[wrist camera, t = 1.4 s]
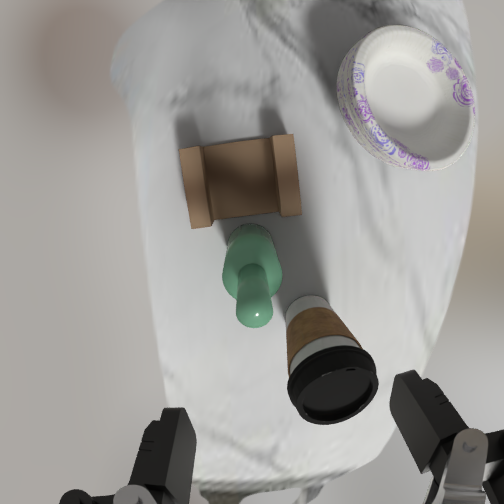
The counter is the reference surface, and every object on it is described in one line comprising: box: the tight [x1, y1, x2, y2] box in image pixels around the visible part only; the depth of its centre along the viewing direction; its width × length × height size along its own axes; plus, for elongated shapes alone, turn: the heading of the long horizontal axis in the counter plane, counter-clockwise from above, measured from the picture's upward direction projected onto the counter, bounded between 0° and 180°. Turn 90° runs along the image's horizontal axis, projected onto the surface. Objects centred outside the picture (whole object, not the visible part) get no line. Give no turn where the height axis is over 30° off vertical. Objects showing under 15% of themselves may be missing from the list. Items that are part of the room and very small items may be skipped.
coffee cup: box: [285, 295, 379, 425], centre depth 29 cm, size 8×8×15 cm
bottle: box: [222, 224, 282, 328], centre depth 26 cm, size 5×5×15 cm
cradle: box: [179, 134, 302, 229], centre depth 30 cm, size 8×11×3 cm
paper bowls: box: [337, 25, 475, 171], centre depth 25 cm, size 15×15×8 cm
